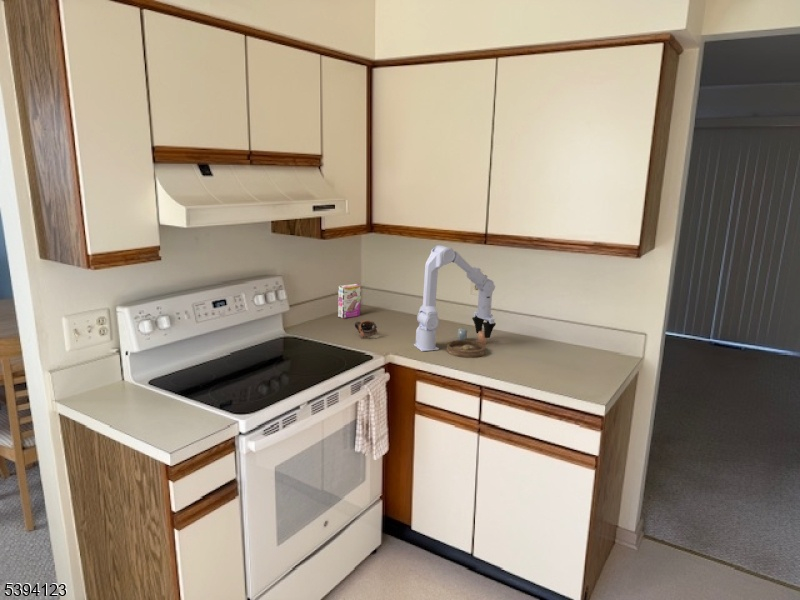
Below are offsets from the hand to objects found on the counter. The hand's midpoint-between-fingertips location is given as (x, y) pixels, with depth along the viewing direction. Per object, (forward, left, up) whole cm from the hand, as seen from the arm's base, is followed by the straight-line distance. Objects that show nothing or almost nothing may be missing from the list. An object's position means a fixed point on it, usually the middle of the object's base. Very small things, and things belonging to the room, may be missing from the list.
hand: (483, 335), depth 242 cm
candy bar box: (-60, -44, -4) cm, 75 cm away
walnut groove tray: (+9, -13, -3) cm, 16 cm away
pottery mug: (-25, -46, -4) cm, 53 cm away
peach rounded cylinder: (0, 0, -3) cm, 3 cm away
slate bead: (-6, -7, -3) cm, 10 cm away
